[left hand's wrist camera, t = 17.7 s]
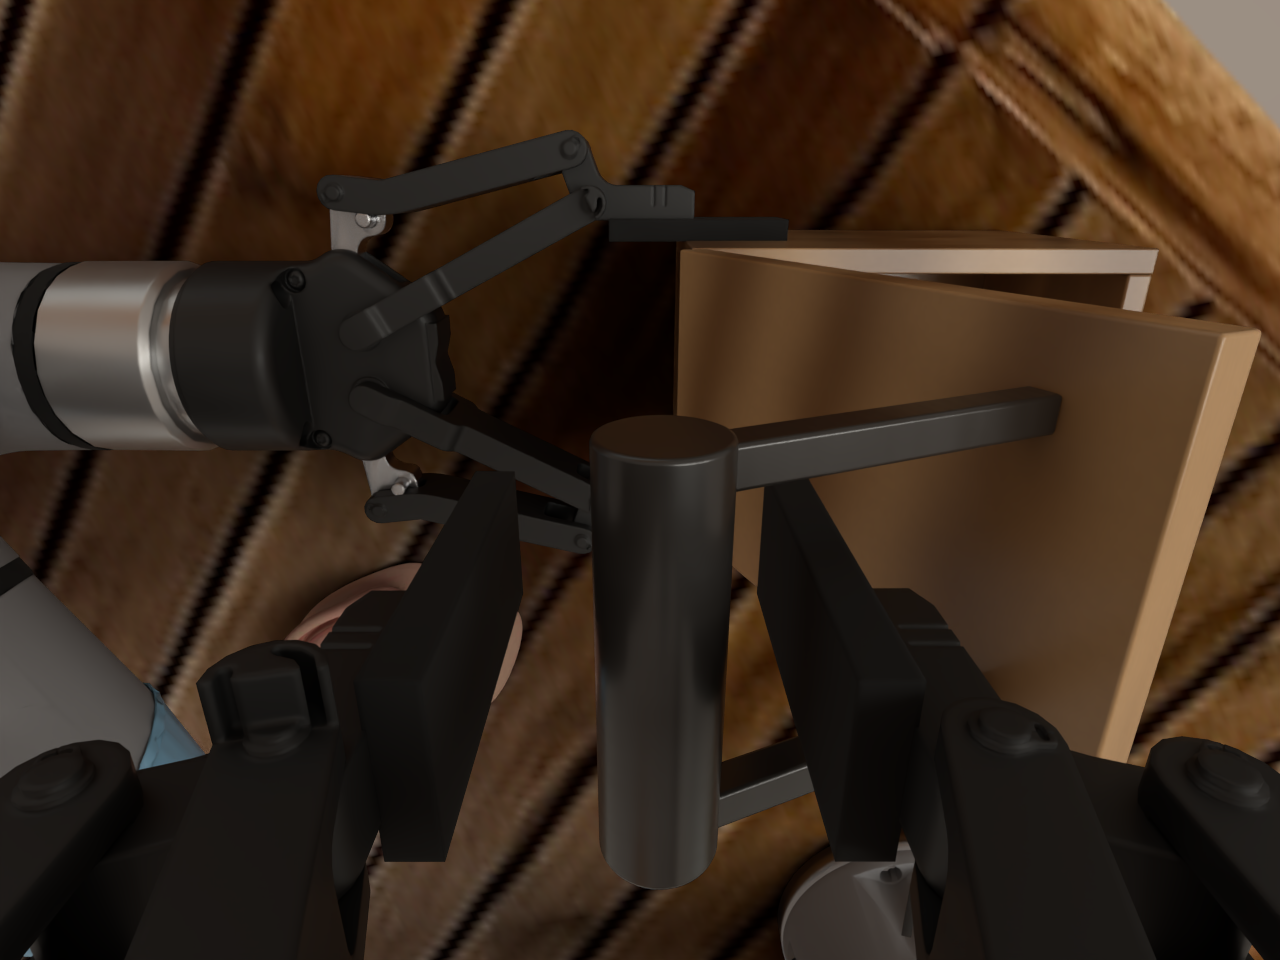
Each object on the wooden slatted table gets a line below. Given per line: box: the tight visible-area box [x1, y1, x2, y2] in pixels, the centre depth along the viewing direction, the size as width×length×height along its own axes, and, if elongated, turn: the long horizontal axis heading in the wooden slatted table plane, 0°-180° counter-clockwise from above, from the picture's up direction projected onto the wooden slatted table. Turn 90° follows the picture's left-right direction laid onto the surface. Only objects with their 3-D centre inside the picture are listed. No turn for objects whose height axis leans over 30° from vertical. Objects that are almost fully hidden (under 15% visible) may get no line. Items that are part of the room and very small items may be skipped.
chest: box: [673, 230, 1159, 415], centre depth 30 cm, size 15×9×11 cm, turn 90°
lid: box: [589, 249, 1261, 890], centre depth 17 cm, size 16×9×9 cm
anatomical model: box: [284, 563, 522, 703], centre depth 40 cm, size 13×4×12 cm
